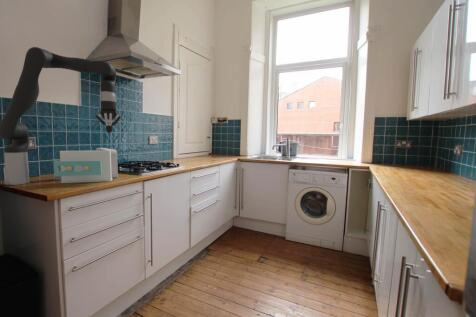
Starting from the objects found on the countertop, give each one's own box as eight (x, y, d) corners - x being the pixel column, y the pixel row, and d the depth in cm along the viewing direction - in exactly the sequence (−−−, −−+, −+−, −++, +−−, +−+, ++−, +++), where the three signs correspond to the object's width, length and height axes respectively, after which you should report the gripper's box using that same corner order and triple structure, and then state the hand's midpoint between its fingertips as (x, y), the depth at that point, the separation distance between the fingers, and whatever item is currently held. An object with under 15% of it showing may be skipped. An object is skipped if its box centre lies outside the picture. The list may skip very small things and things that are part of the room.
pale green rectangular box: (55, 185, 127) (53, 152, 125) (64, 181, 139) (62, 150, 137) (108, 183, 135) (106, 151, 133) (112, 179, 147) (111, 150, 145)
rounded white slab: (121, 177, 155) (120, 149, 153) (108, 179, 149) (107, 150, 148) (108, 172, 175) (107, 147, 173) (96, 173, 170) (95, 147, 168)
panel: (54, 176, 128) (53, 161, 127) (55, 175, 129) (54, 161, 128) (101, 174, 134) (100, 160, 133) (101, 174, 135) (101, 160, 135)
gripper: (92, 99, 126) (94, 132, 127) (120, 100, 130) (121, 133, 131) (96, 101, 133) (97, 132, 134) (122, 102, 137) (123, 133, 138)
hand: (109, 132), depth 133 cm, fingers closed
